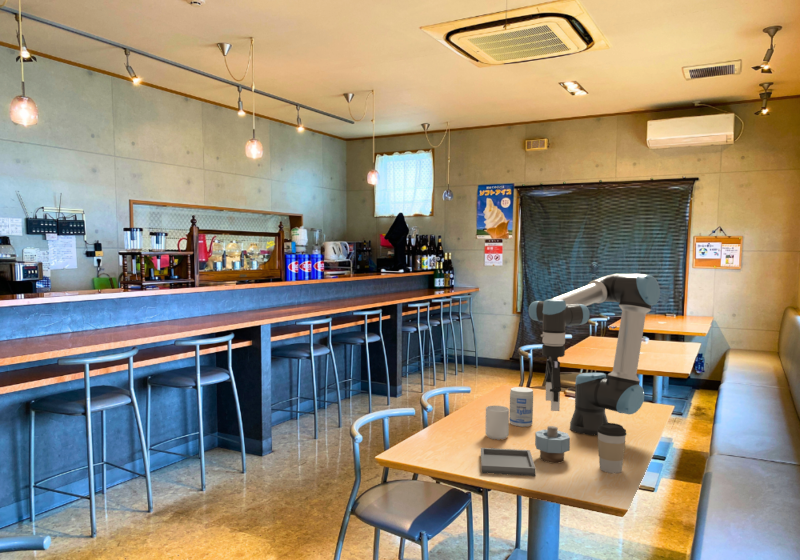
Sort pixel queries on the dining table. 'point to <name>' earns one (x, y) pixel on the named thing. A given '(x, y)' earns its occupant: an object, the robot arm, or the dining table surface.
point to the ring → (552, 442)
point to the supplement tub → (521, 406)
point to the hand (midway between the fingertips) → (552, 405)
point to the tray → (507, 461)
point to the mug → (497, 422)
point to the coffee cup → (611, 447)
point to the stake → (552, 457)
